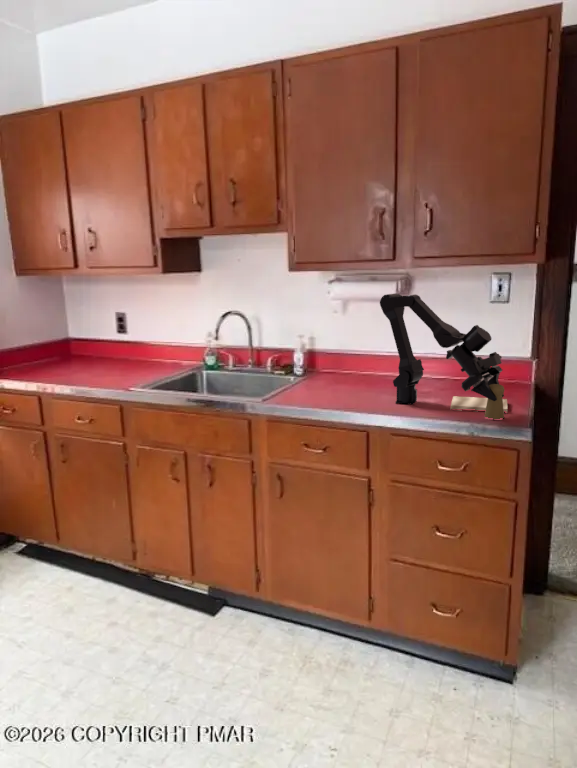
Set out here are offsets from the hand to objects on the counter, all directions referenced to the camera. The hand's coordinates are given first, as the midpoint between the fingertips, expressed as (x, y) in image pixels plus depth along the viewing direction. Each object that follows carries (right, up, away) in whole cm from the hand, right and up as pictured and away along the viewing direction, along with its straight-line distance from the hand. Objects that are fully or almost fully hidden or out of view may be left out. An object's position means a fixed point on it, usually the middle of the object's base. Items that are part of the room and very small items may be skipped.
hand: (499, 398), depth 179 cm
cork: (-1, -6, +2) cm, 7 cm away
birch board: (-1, -3, +16) cm, 16 cm away
